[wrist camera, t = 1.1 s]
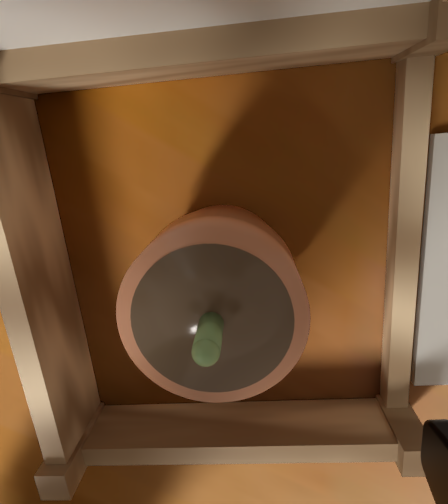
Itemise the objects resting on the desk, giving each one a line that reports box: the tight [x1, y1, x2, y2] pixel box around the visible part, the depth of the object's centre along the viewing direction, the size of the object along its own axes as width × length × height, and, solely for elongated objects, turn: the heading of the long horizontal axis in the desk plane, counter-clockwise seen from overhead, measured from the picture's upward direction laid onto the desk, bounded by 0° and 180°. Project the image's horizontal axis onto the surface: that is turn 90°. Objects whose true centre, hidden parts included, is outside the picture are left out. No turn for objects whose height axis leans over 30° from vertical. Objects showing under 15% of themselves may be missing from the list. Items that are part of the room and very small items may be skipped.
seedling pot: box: [116, 205, 310, 403], centre depth 14 cm, size 6×6×8 cm
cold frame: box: [0, 0, 448, 500], centre depth 15 cm, size 18×17×5 cm
